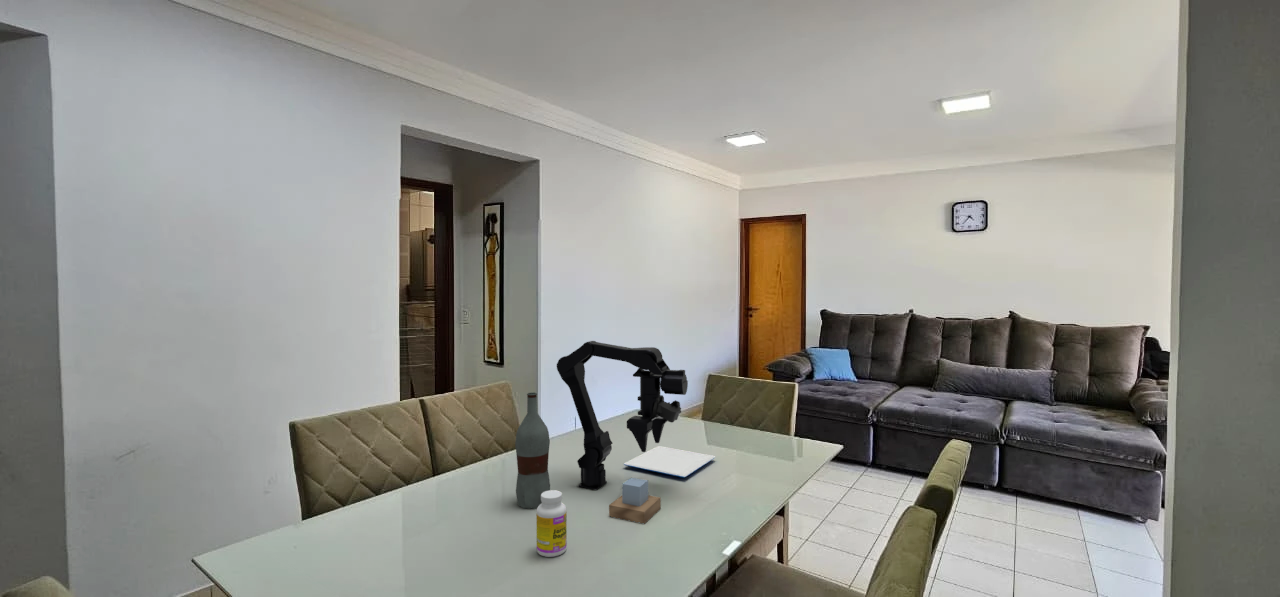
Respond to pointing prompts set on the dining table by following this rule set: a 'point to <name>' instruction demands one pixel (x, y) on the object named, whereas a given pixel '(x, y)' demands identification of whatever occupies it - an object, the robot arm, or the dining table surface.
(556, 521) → the supplement bottle
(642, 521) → the base
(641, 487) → the cube
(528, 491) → the grey bottle
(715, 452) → the dining table surface
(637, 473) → the dining table surface
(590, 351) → the robot arm
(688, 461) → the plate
